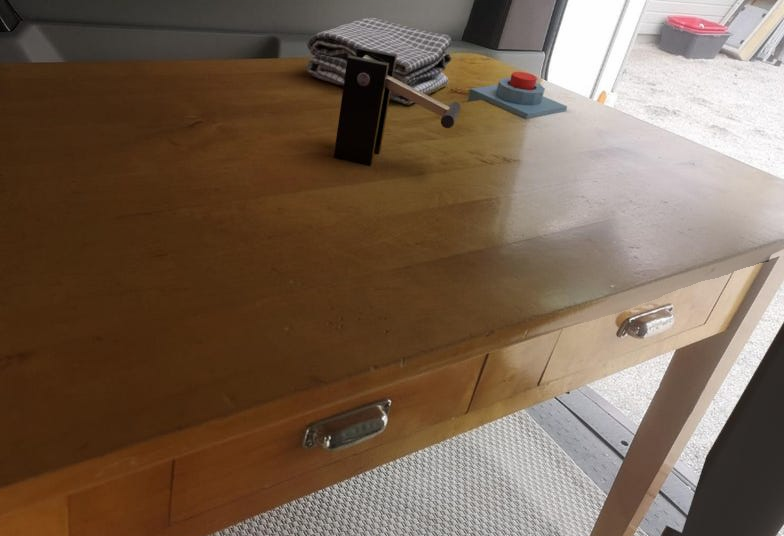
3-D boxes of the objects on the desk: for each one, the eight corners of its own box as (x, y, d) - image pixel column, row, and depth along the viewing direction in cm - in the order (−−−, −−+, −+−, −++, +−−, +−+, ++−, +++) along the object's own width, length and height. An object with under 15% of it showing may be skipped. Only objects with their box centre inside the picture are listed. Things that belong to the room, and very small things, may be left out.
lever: (455, 120, 86) (465, 101, 85) (448, 134, 82) (458, 114, 81) (360, 70, 86) (369, 51, 85) (348, 82, 82) (357, 62, 81)
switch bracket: (412, 164, 92) (434, 56, 85) (396, 192, 85) (418, 77, 78) (318, 142, 95) (331, 36, 87) (295, 168, 88) (307, 54, 80)
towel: (351, 59, 126) (358, 9, 122) (452, 88, 119) (463, 36, 114) (301, 77, 116) (306, 23, 111) (407, 111, 108) (418, 54, 104)
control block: (563, 120, 112) (571, 93, 110) (523, 129, 107) (531, 101, 105) (506, 96, 119) (513, 70, 117) (466, 103, 114) (473, 76, 112)
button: (538, 90, 111) (542, 78, 110) (522, 93, 109) (526, 80, 108) (519, 82, 113) (522, 70, 112) (503, 85, 111) (506, 72, 110)
